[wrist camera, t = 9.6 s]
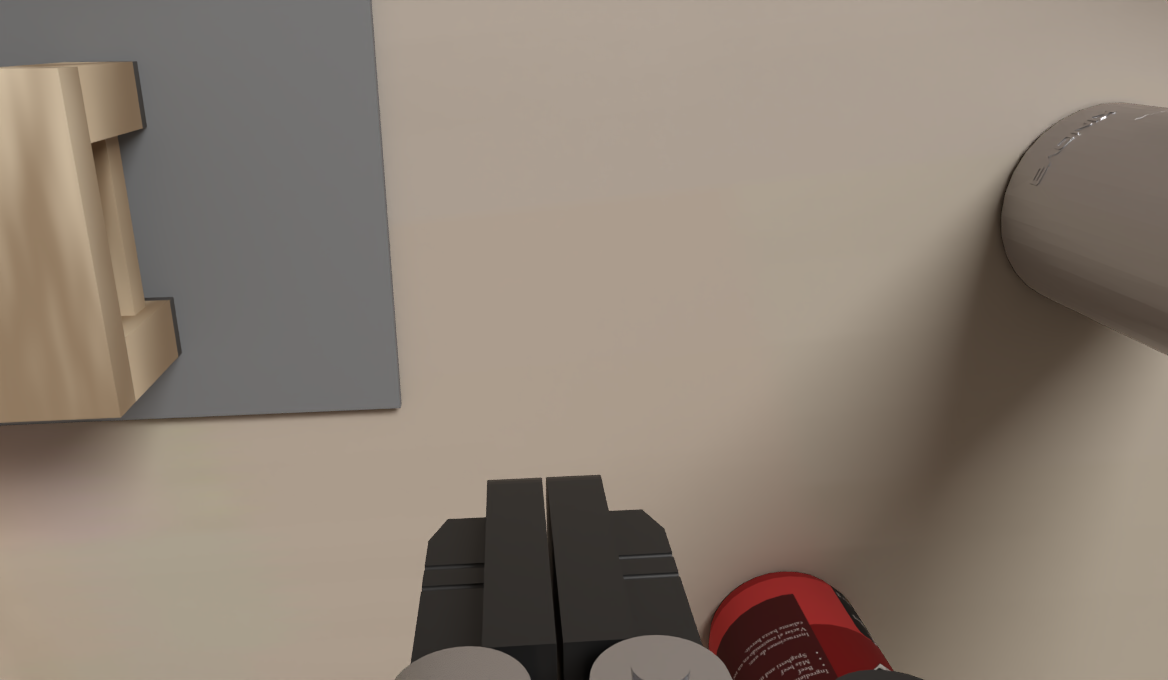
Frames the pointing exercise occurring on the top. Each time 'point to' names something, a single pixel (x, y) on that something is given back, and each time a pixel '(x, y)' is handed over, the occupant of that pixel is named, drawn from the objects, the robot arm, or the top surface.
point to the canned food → (791, 631)
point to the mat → (247, 193)
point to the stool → (73, 248)
